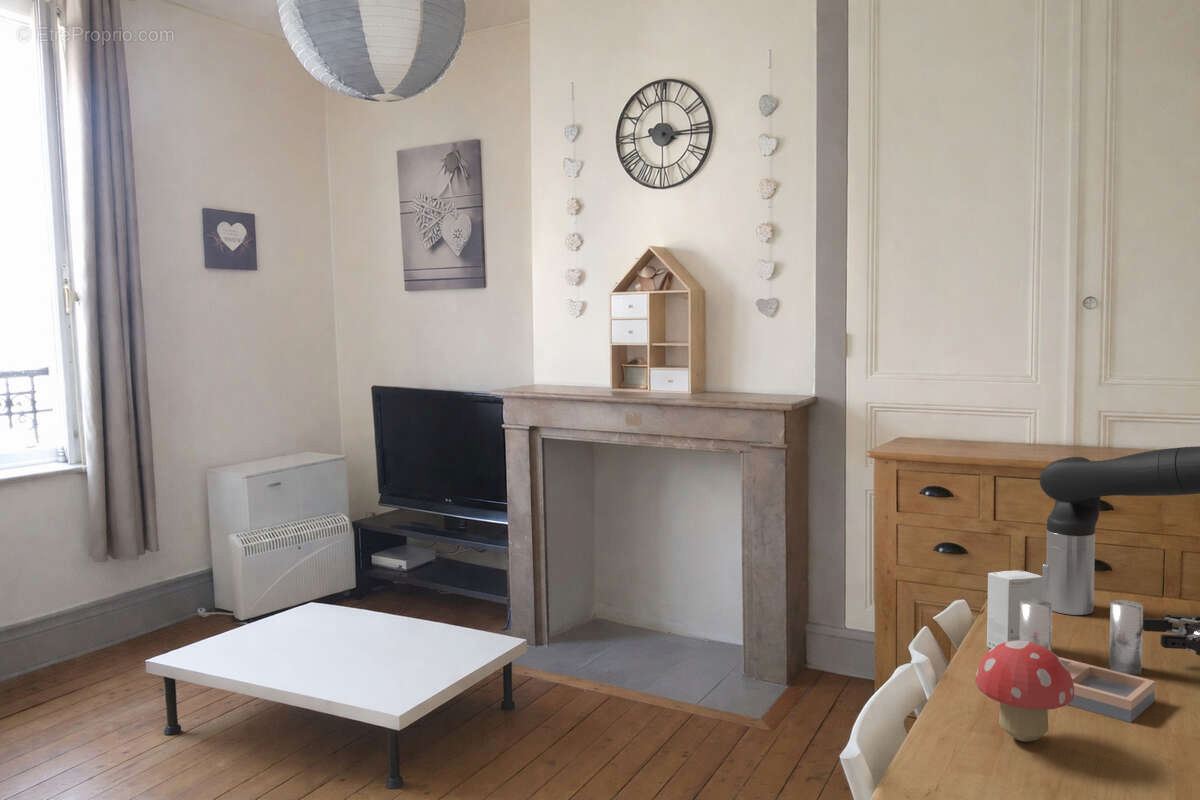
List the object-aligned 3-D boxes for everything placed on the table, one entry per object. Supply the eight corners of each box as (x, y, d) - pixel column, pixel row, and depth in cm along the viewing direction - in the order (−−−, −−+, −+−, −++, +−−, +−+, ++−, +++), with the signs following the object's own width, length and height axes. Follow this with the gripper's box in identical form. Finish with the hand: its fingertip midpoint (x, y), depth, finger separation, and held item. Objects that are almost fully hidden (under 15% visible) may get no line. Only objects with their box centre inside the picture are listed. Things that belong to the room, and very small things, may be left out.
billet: (1104, 669, 157) (1106, 604, 156) (1115, 661, 161) (1116, 598, 160) (1135, 677, 153) (1137, 610, 152) (1145, 669, 157) (1147, 604, 156)
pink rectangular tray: (990, 682, 153) (990, 663, 153) (1018, 665, 160) (1018, 646, 160) (1130, 722, 136) (1131, 701, 136) (1154, 701, 143) (1154, 681, 143)
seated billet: (1014, 670, 153) (1015, 603, 152) (1026, 663, 156) (1027, 597, 155) (1044, 679, 149) (1045, 610, 148) (1055, 670, 152) (1057, 603, 151)
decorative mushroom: (989, 712, 141) (990, 622, 140) (1082, 735, 132) (1084, 639, 131) (963, 744, 131) (964, 647, 129) (1062, 771, 122) (1064, 667, 121)
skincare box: (1007, 657, 164) (1008, 580, 163) (984, 646, 170) (985, 571, 168) (1043, 651, 166) (1044, 575, 165) (1019, 641, 172) (1020, 567, 171)
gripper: (1235, 603, 159) (1137, 599, 162) (1278, 630, 145) (1168, 625, 148) (1234, 644, 159) (1135, 639, 163) (1276, 674, 145) (1167, 668, 149)
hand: (1151, 632), depth 156 cm, fingers open, 8 cm apart
